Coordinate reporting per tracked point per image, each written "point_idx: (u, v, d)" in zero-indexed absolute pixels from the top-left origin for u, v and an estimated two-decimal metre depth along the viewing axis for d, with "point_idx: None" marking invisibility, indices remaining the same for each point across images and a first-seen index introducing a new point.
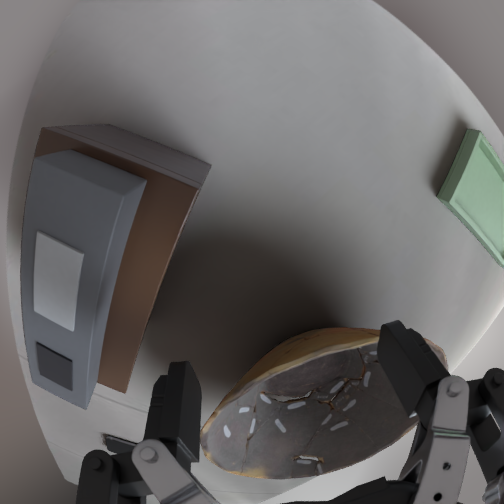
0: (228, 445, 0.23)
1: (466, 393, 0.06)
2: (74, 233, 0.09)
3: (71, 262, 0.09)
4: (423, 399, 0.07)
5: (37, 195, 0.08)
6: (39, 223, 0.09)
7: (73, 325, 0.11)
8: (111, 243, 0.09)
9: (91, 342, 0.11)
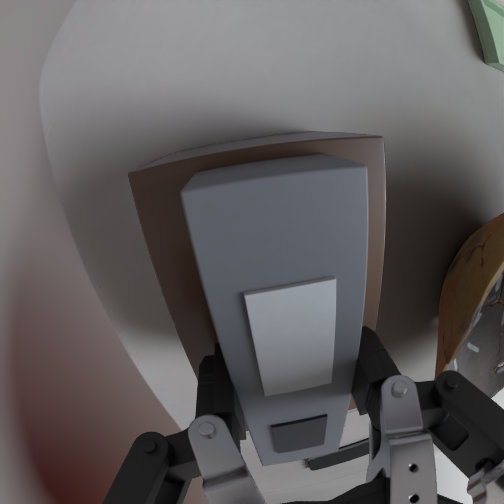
0: None
1: (412, 394, 0.07)
2: (312, 259, 0.07)
3: (320, 300, 0.07)
4: (370, 397, 0.08)
5: (218, 244, 0.06)
6: (241, 282, 0.07)
7: (328, 375, 0.09)
8: None
9: (353, 378, 0.09)
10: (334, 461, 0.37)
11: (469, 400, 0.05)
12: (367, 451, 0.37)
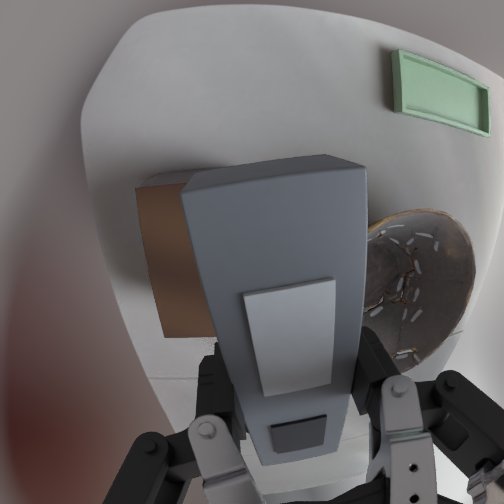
0: None
1: (412, 394, 0.07)
2: (312, 260, 0.07)
3: (319, 301, 0.07)
4: (370, 397, 0.08)
5: (217, 245, 0.06)
6: (240, 283, 0.07)
7: (328, 376, 0.09)
8: None
9: (353, 378, 0.09)
10: None
11: (469, 400, 0.05)
12: None
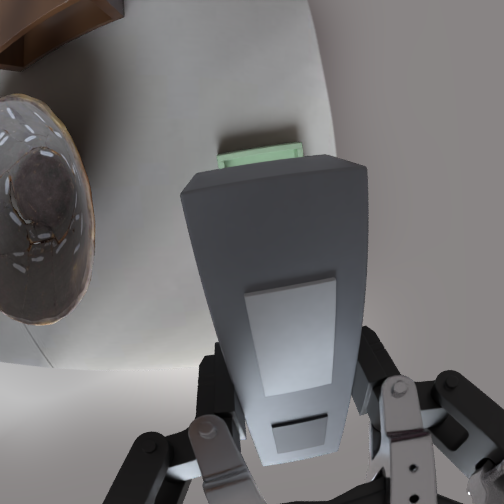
0: None
1: (412, 394, 0.07)
2: (313, 260, 0.07)
3: (320, 301, 0.07)
4: (370, 397, 0.08)
5: (218, 245, 0.06)
6: (241, 283, 0.07)
7: (328, 376, 0.09)
8: None
9: (353, 378, 0.09)
10: None
11: (469, 400, 0.05)
12: None
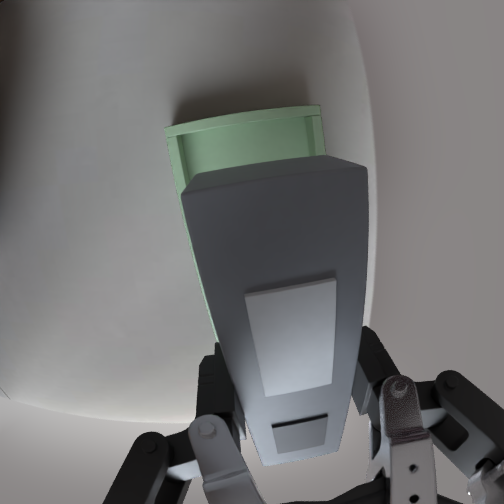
0: None
1: (412, 394, 0.07)
2: (312, 260, 0.07)
3: (320, 301, 0.07)
4: (370, 397, 0.08)
5: (219, 246, 0.06)
6: (241, 283, 0.07)
7: (328, 376, 0.09)
8: None
9: (353, 378, 0.09)
10: None
11: (469, 400, 0.05)
12: None
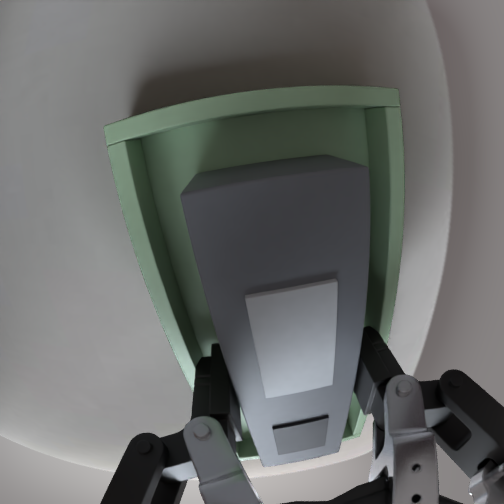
0: None
1: (417, 394, 0.07)
2: (314, 261, 0.07)
3: (321, 303, 0.07)
4: (374, 397, 0.08)
5: (219, 247, 0.06)
6: (242, 285, 0.07)
7: (329, 377, 0.09)
8: (368, 241, 0.07)
9: (354, 379, 0.09)
10: None
11: (472, 399, 0.05)
12: None
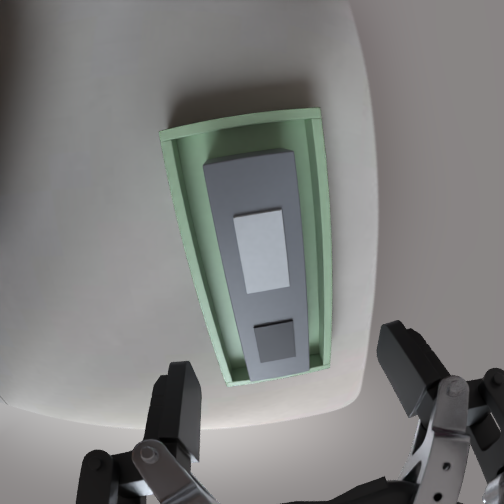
0: None
1: (466, 393, 0.06)
2: (268, 199, 0.13)
3: (274, 222, 0.14)
4: (423, 399, 0.07)
5: (220, 190, 0.13)
6: (231, 211, 0.13)
7: (287, 281, 0.15)
8: (298, 190, 0.13)
9: (306, 286, 0.16)
10: None
11: None
12: None
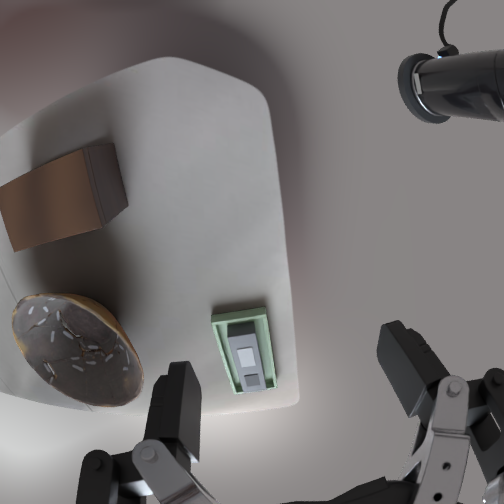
0: (25, 318, 0.32)
1: (466, 393, 0.06)
2: (247, 344, 0.42)
3: (249, 350, 0.42)
4: (423, 399, 0.07)
5: (232, 343, 0.42)
6: (236, 347, 0.42)
7: (255, 363, 0.44)
8: (257, 341, 0.42)
9: (261, 364, 0.44)
10: None
11: None
12: None
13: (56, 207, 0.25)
